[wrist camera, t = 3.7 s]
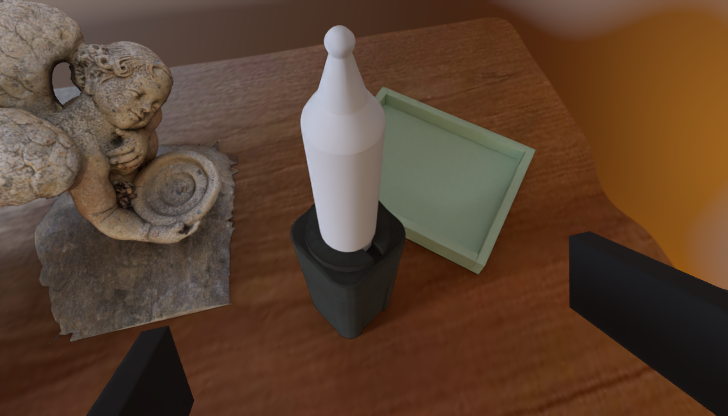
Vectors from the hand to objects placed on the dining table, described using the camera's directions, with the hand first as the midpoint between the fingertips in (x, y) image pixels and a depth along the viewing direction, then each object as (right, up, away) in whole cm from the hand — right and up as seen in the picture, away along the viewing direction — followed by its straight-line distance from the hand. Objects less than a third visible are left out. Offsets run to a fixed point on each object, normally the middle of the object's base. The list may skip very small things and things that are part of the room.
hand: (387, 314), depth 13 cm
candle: (-2, -4, +20) cm, 20 cm away
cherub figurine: (-21, +1, +22) cm, 31 cm away
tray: (+5, +7, +26) cm, 27 cm away
